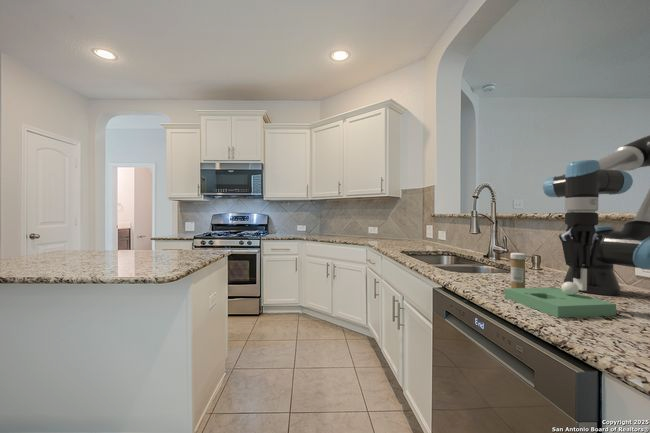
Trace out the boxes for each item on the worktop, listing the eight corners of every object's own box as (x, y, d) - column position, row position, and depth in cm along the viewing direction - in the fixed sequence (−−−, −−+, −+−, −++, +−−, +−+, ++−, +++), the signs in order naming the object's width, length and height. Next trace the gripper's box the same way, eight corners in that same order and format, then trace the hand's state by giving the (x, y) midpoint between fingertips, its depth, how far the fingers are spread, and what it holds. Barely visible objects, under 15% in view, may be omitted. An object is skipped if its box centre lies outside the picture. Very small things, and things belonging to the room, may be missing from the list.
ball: (569, 293, 85) (569, 280, 85) (582, 296, 82) (582, 283, 82) (557, 293, 85) (557, 280, 85) (570, 297, 81) (570, 283, 81)
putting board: (553, 296, 93) (553, 287, 93) (616, 315, 75) (616, 304, 75) (504, 297, 90) (504, 288, 90) (557, 317, 73) (557, 306, 73)
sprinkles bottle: (527, 290, 99) (527, 253, 99) (522, 292, 97) (522, 254, 97) (513, 288, 103) (513, 252, 103) (507, 289, 100) (508, 253, 101)
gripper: (575, 211, 79) (573, 293, 79) (613, 212, 81) (612, 292, 81) (550, 211, 87) (549, 286, 87) (586, 212, 88) (585, 286, 88)
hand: (579, 289), depth 84 cm, fingers closed
